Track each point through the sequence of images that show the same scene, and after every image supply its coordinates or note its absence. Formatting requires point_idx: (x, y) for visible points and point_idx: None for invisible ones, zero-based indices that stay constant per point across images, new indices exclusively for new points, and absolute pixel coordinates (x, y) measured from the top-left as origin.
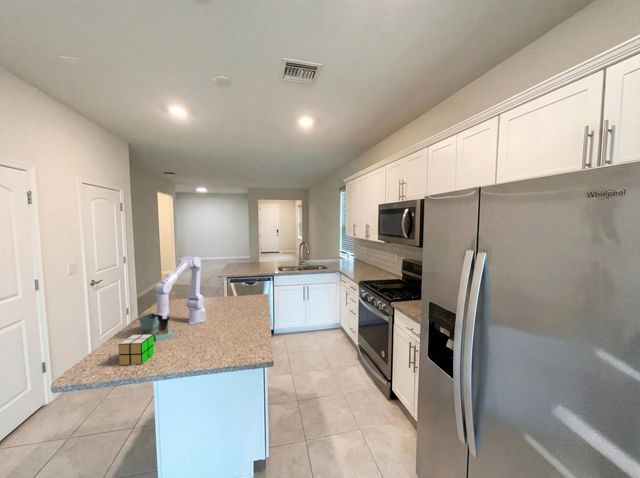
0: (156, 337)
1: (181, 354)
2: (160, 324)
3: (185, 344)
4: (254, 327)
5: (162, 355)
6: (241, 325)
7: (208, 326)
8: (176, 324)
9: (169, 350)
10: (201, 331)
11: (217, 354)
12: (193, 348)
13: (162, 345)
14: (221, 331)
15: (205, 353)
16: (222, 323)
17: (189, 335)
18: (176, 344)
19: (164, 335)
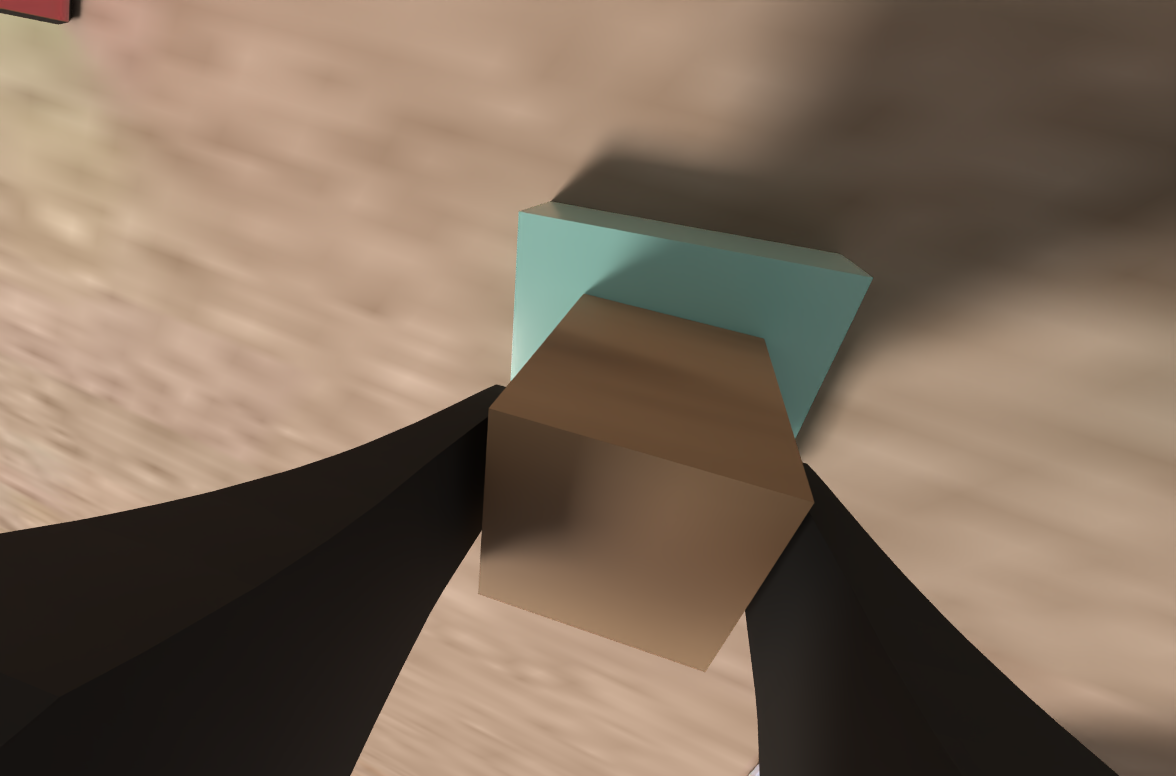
0: (523, 221)
1: (33, 300)
2: (554, 472)
3: (254, 423)
4: (360, 756)
5: (21, 126)
6: (436, 764)
7: (586, 715)
8: (1037, 668)
9: (146, 245)
10: (503, 637)
11: (17, 469)
12: (143, 424)
13: (330, 230)
14: (402, 680)
15: (38, 433)
16: (567, 769)
17: (472, 547)
18: (289, 366)
19: (512, 358)
